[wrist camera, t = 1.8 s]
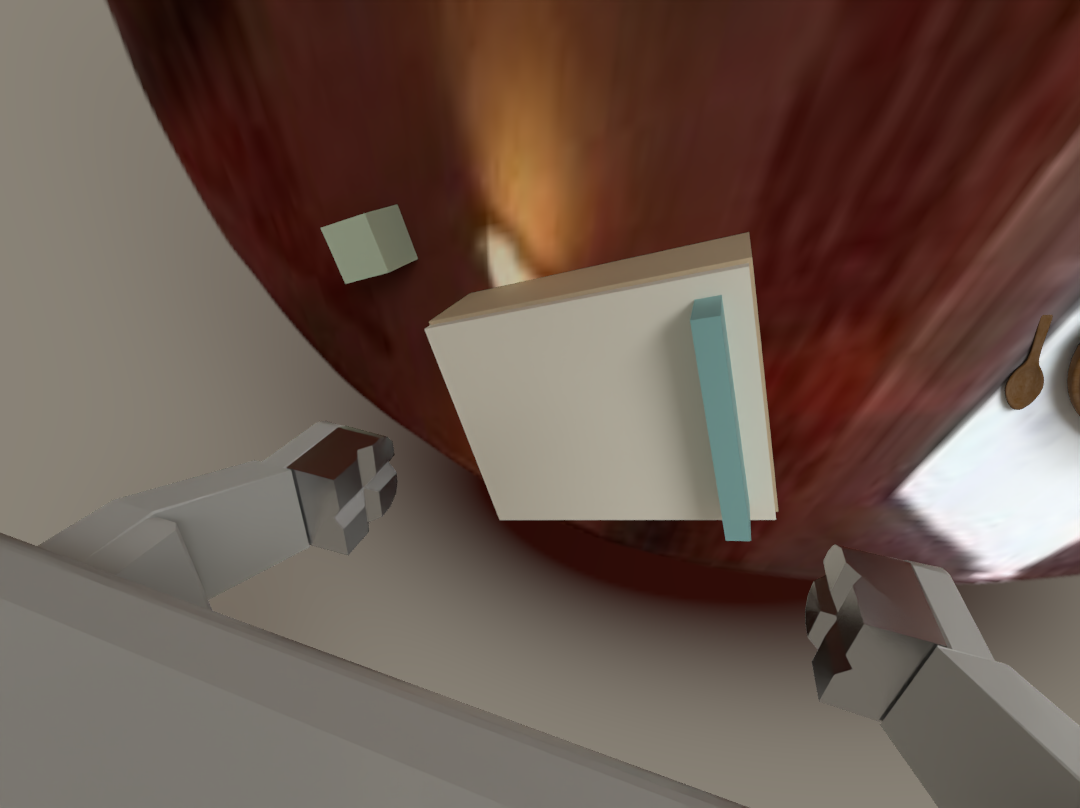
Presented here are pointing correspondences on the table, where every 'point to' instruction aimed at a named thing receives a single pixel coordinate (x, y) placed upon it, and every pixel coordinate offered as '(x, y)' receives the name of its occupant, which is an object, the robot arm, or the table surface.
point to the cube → (370, 244)
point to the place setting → (1040, 374)
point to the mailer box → (619, 276)
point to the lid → (618, 403)
